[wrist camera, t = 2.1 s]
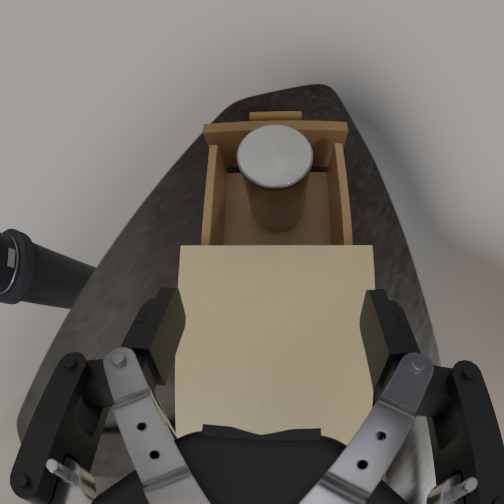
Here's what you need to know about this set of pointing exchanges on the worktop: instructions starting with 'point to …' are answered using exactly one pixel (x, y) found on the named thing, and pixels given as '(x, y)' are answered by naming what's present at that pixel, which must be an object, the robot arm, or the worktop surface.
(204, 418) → the cabinet
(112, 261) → the worktop surface
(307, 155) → the metal can
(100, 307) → the worktop surface
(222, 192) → the drawer
